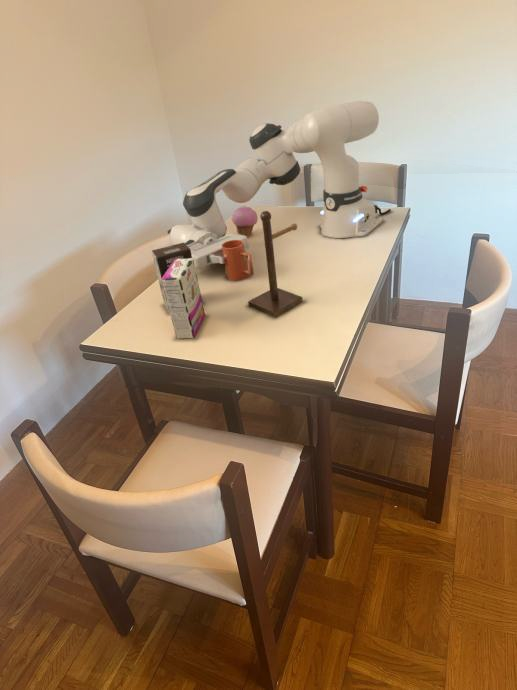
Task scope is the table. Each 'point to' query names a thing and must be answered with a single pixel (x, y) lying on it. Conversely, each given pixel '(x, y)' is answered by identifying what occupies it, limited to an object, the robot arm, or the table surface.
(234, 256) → the mug
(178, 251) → the coffee box
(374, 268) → the table surface
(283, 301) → the mug stand
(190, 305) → the candy bar box
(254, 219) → the cupcake
